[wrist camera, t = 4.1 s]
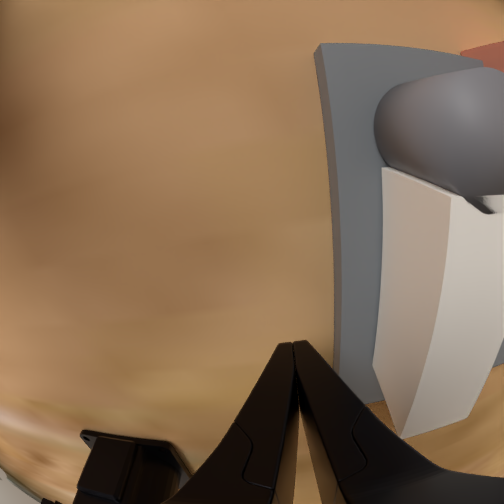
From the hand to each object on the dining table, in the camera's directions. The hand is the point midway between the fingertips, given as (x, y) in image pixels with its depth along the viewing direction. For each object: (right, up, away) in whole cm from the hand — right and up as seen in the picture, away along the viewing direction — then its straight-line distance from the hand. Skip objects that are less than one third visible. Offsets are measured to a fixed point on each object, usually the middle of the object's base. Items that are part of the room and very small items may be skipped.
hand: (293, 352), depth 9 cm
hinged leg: (+4, +3, 0) cm, 5 cm away
